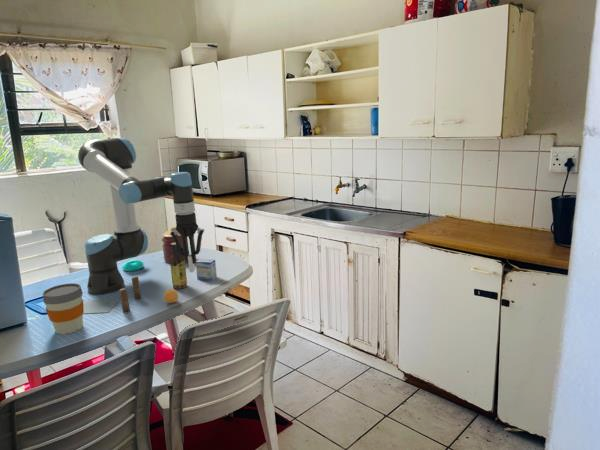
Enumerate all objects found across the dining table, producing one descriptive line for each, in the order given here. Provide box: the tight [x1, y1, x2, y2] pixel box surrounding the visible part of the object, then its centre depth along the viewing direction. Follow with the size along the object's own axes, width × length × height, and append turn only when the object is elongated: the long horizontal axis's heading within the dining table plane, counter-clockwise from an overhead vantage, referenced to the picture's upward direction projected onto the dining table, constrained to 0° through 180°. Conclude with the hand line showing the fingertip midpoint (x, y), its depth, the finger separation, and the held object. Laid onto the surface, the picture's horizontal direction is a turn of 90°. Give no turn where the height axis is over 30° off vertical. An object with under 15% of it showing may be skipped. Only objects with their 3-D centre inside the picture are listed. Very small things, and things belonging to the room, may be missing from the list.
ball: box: [163, 288, 179, 304], centre depth 179 cm, size 6×6×6 cm
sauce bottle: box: [169, 243, 188, 290], centre depth 194 cm, size 7×6×20 cm
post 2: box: [131, 276, 142, 300], centre depth 185 cm, size 3×3×9 cm
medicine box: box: [195, 258, 218, 281], centre depth 204 cm, size 8×4×9 cm, turn 76°
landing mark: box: [83, 297, 121, 315], centre depth 180 cm, size 14×14×1 cm
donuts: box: [122, 255, 144, 272], centre depth 223 cm, size 10×10×10 cm
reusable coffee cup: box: [42, 283, 84, 335], centre depth 160 cm, size 13×12×15 cm
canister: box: [161, 226, 186, 264], centre depth 232 cm, size 13×13×18 cm
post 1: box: [119, 287, 131, 314], centre depth 173 cm, size 3×3×9 cm
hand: (192, 271), depth 176 cm, fingers closed
